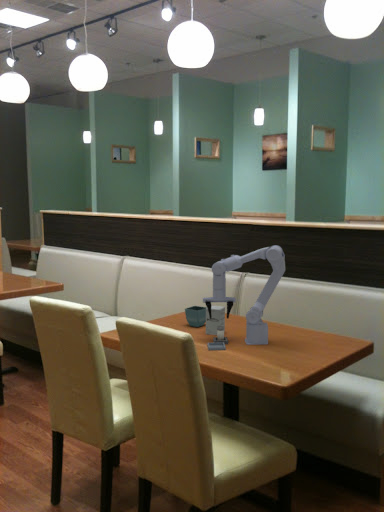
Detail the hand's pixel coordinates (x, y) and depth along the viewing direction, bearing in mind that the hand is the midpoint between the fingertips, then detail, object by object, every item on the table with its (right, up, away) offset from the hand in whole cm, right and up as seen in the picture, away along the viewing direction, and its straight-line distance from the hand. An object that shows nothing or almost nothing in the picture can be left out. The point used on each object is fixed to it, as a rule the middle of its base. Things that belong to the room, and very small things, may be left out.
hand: (219, 318), depth 238 cm
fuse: (0, -10, -4) cm, 11 cm away
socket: (0, -11, -4) cm, 11 cm away
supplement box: (-1, -9, +12) cm, 15 cm away
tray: (-2, -12, -11) cm, 16 cm away
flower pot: (-10, -7, +27) cm, 29 cm away
